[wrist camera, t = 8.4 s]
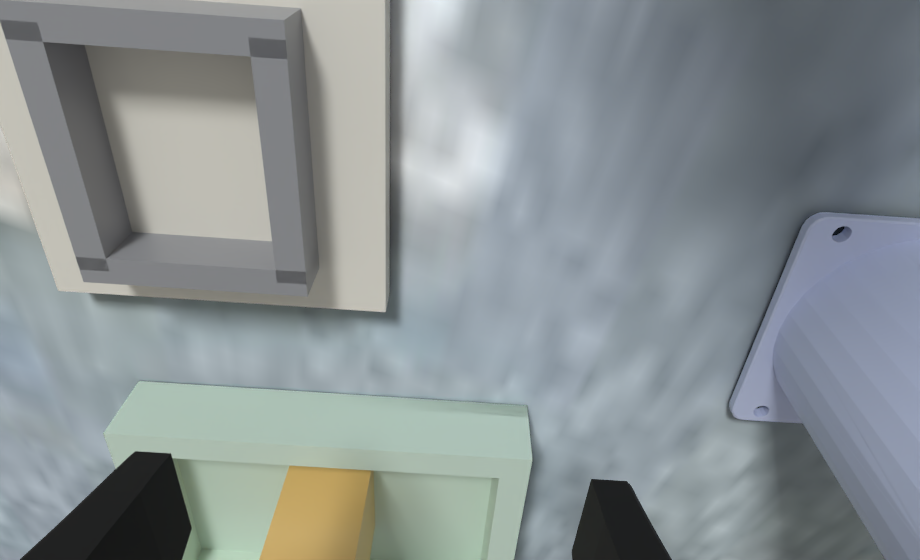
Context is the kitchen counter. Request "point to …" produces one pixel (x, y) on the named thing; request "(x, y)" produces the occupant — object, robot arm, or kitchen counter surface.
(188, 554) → the parts tray
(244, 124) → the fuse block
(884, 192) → the kitchen counter surface
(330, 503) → the block
